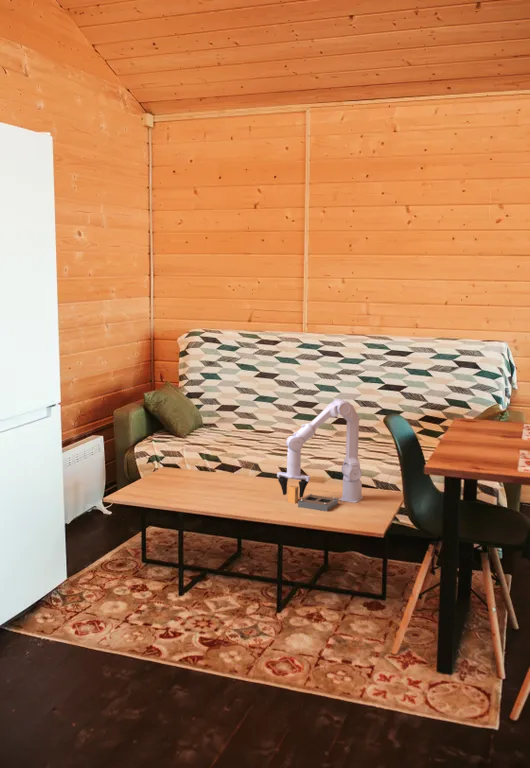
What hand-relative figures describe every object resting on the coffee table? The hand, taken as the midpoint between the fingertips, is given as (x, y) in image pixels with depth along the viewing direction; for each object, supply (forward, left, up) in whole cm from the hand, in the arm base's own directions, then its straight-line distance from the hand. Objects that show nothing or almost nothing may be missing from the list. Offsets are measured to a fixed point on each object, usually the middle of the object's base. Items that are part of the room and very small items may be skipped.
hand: (293, 495), depth 328 cm
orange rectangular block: (0, 0, -3) cm, 3 cm away
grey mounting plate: (0, +12, -3) cm, 12 cm away
